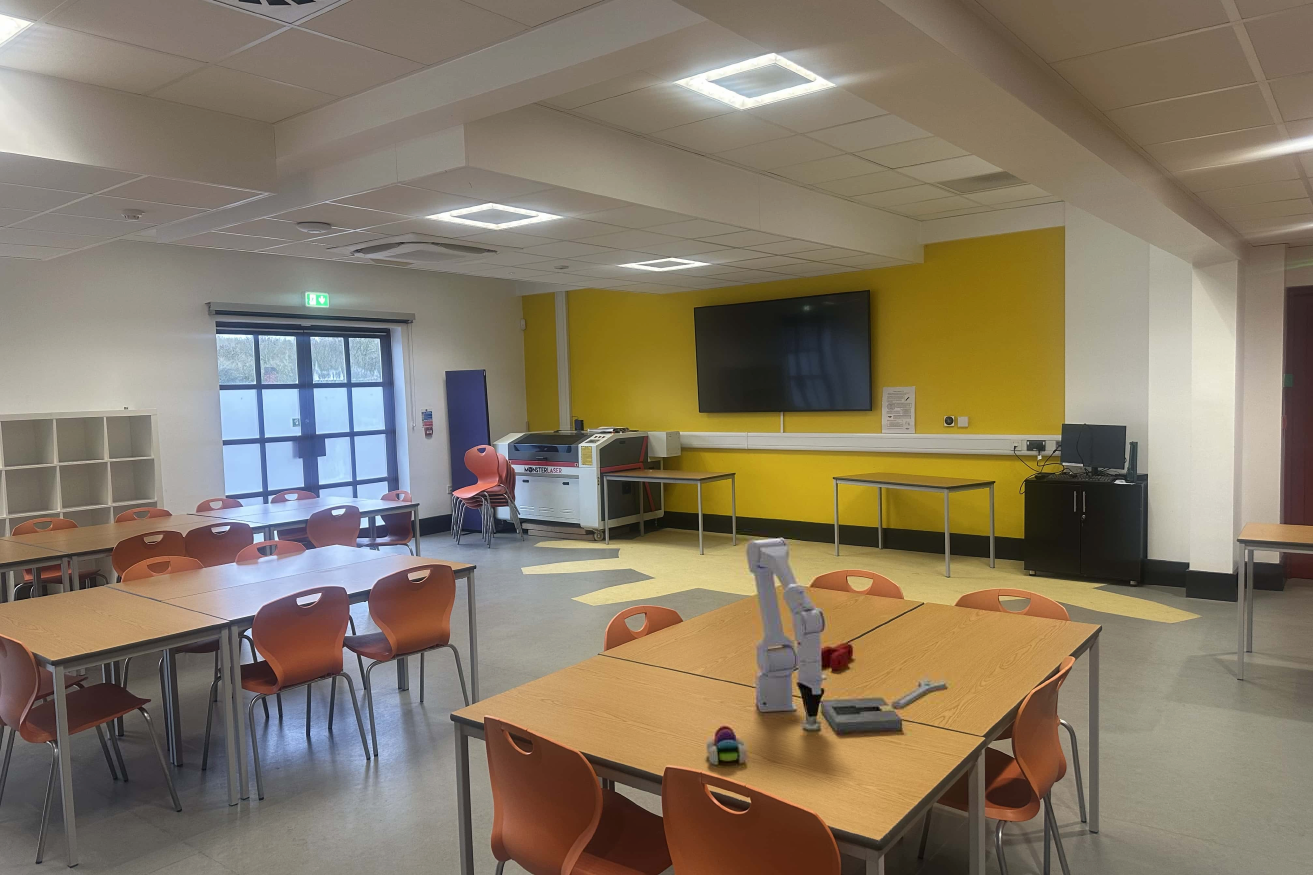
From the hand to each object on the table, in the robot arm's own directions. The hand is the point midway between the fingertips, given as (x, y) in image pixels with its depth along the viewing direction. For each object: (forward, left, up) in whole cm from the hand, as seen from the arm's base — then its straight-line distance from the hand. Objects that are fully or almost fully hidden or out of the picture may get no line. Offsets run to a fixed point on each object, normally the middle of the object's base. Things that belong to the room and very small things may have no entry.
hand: (811, 713), depth 211 cm
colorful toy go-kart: (-23, -16, -4) cm, 28 cm away
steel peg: (0, 0, -3) cm, 3 cm away
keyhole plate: (+13, +3, -3) cm, 14 cm away
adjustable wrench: (+33, +20, -4) cm, 39 cm away
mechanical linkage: (+20, +51, -4) cm, 54 cm away
